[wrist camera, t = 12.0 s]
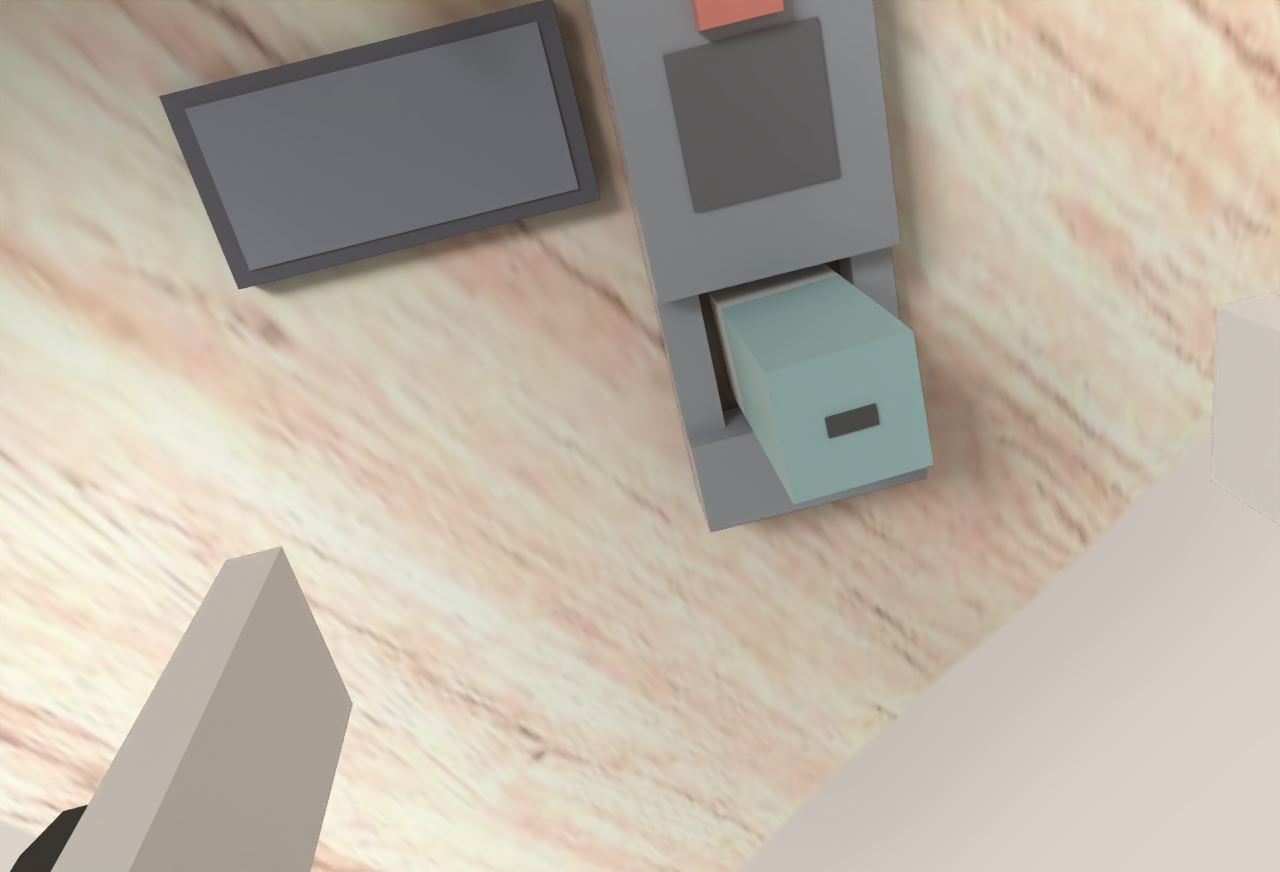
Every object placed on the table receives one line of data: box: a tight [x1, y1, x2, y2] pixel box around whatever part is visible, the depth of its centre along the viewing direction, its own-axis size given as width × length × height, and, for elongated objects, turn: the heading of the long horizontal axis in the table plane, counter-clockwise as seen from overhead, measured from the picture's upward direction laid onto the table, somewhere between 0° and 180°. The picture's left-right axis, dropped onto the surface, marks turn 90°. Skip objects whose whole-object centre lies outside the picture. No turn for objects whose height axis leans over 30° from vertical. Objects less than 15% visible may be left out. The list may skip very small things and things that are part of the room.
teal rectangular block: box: [708, 263, 934, 504], centre depth 29 cm, size 4×4×9 cm
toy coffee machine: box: [585, 0, 927, 532], centre depth 30 cm, size 18×8×3 cm, turn 13°
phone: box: [159, 0, 600, 289], centre depth 29 cm, size 12×6×1 cm, turn 103°
